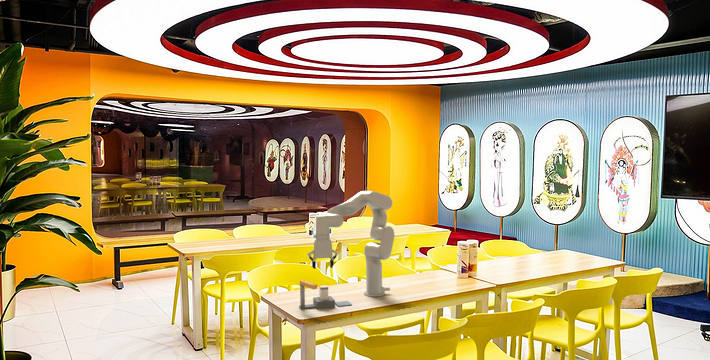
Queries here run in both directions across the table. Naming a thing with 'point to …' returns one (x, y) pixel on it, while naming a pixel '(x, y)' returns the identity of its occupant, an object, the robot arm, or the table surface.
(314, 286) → the latch bar
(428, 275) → the table surface
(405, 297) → the table surface
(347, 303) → the pad
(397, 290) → the table surface
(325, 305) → the socket block
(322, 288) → the plug
